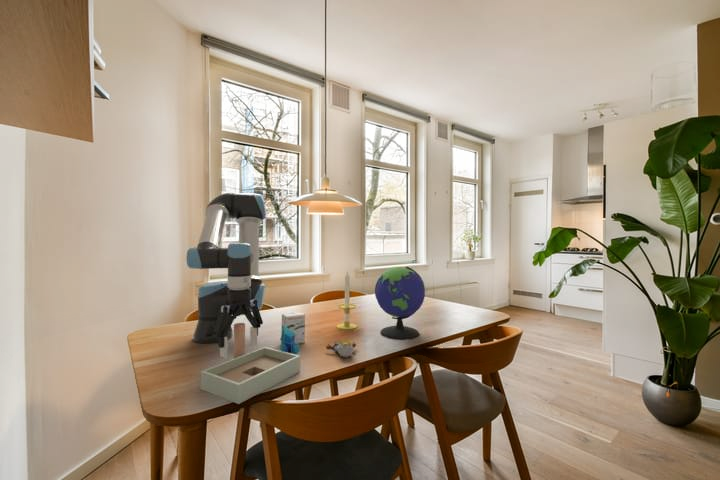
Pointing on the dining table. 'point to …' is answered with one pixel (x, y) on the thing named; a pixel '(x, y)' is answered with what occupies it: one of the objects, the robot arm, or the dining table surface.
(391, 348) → the dining table surface
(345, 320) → the candle
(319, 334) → the dining table surface
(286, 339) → the gemstone
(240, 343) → the peg
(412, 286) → the globe
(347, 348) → the toy
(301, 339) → the ink box
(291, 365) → the box
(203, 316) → the robot arm
